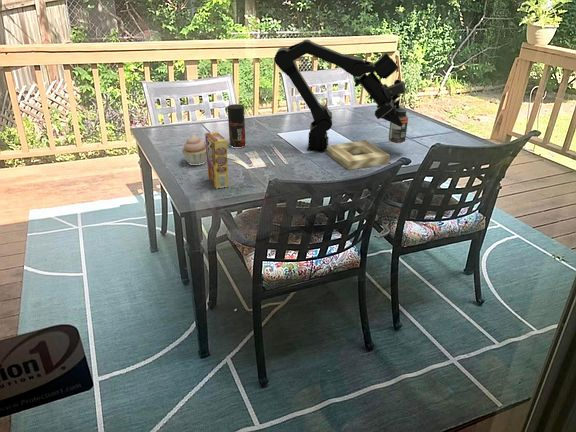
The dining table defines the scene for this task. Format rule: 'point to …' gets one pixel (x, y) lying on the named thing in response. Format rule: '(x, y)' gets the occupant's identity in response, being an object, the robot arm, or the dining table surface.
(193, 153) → the cupcake
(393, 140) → the supplement bottle
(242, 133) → the deodorant
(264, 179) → the dining table surface
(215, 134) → the candy box
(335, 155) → the socket block
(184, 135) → the dining table surface
